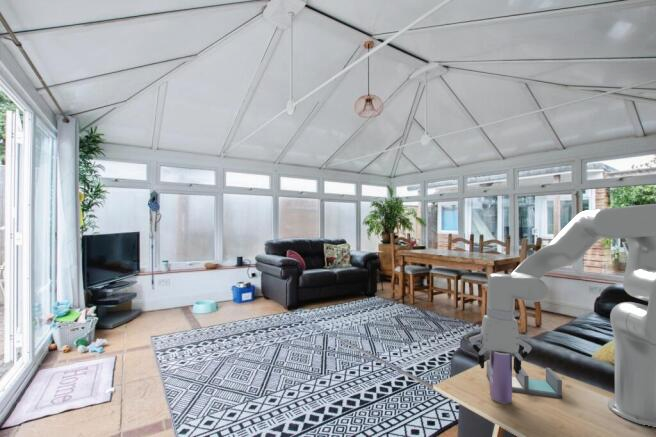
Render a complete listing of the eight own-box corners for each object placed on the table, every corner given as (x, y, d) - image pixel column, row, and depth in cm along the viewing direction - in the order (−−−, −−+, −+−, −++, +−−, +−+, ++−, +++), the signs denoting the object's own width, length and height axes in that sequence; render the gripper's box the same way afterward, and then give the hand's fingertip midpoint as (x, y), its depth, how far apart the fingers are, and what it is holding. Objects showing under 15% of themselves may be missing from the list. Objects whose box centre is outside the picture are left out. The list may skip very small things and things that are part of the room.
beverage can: (515, 405, 92) (515, 354, 92) (493, 403, 93) (493, 352, 94) (507, 395, 98) (507, 347, 98) (487, 393, 99) (487, 345, 100)
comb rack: (549, 384, 105) (549, 368, 106) (562, 398, 97) (561, 380, 97) (486, 375, 111) (486, 360, 111) (492, 388, 102) (492, 371, 102)
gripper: (527, 313, 98) (526, 368, 97) (468, 307, 102) (466, 360, 102) (536, 320, 90) (535, 379, 90) (472, 313, 95) (470, 369, 95)
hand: (498, 369), depth 96 cm, fingers open, 9 cm apart
